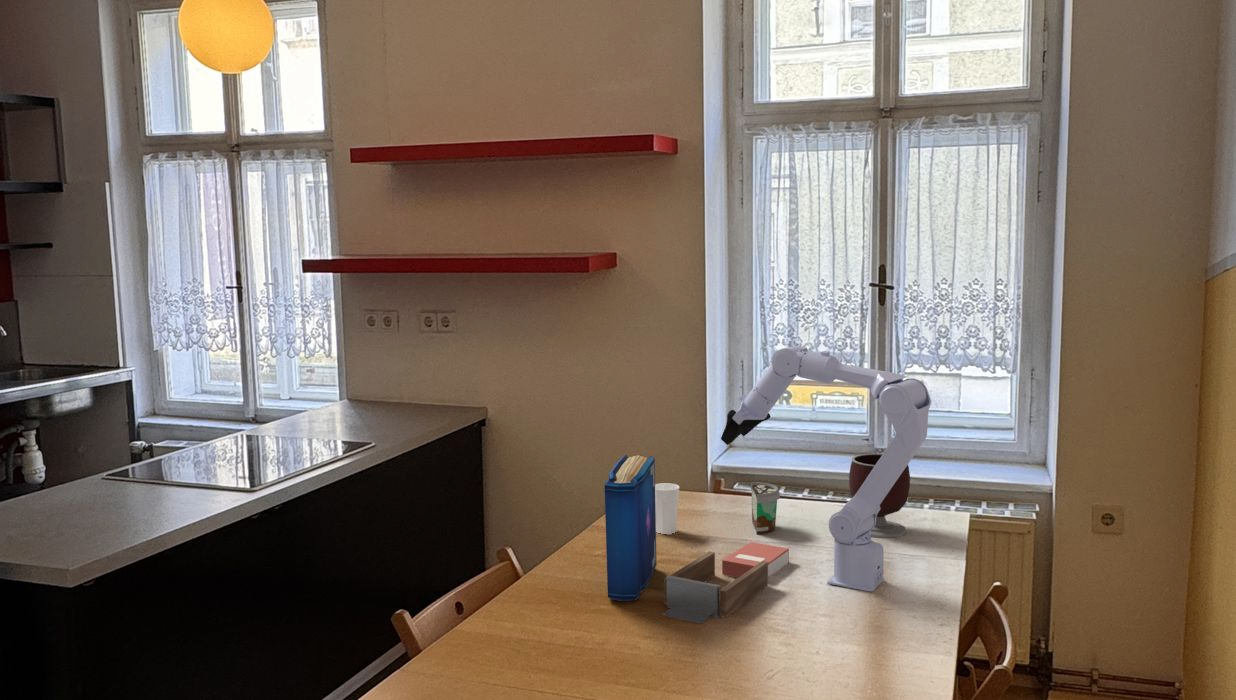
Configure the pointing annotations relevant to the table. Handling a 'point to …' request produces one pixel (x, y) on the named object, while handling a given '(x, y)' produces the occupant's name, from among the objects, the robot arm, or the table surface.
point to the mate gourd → (891, 502)
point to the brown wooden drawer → (734, 591)
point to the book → (630, 527)
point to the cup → (666, 507)
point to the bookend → (692, 599)
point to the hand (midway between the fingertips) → (732, 437)
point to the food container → (764, 507)
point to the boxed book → (755, 559)
